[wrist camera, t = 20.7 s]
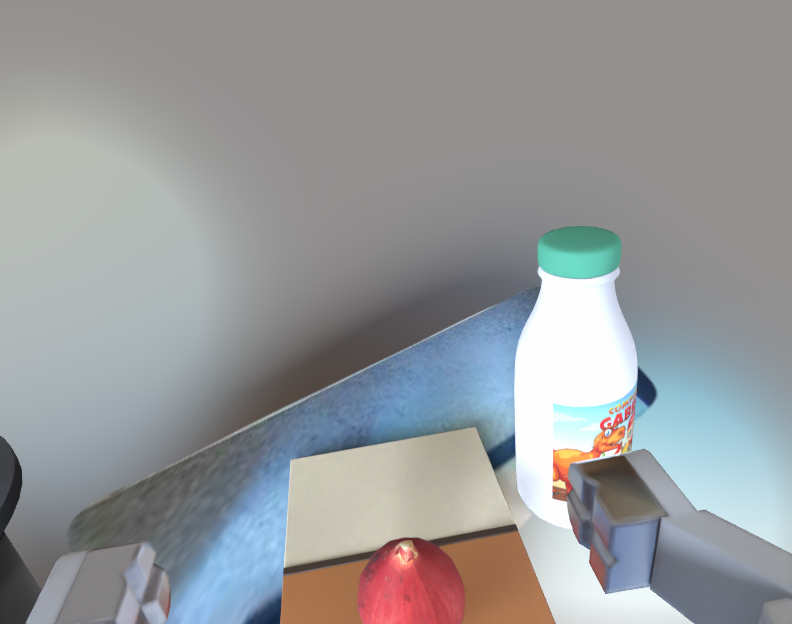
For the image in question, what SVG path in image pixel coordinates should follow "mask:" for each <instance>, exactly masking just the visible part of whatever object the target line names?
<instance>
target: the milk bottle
mask: <svg viewBox="0 0 792 624" xmlns="http://www.w3.org/2000/svg"><path fill="white" fill-rule="evenodd" d="M620 258H621V240H620V238H619V237H618V236H617V235H616V234H615V233H613V232H611V231H609V230H606V229H602V228H597V227H588V226H574V227H565V228H560V229H556V230H552V231H550V232H548V233H546V234H545V235H543V236H542V237H541V238H540V240H539V244H538V263H539V268H538V274H539V276H540V277H541V278H542V285H541V290H540V293H539V296H538V299H537V302H536V305H535V307H534V309H533V311H532V313H531V315H530V317H529V318H528V320H527V322H526V324H525V326H524V328H523V330H522V333H521V336H520V339H519V342H518V346H517V351H516V359H515V443H516V477H517V488H518V491H519V494H520V496H521V498H522V500H523V501H524V503H525V504H526V505H527V507H528V508H529V509H530V510H531V511H532V512H533V513H534V514H535V515H536V516H538V517H540V518H541V519H543V520H544V521H546V522H549V523H551V524H553V525H556V526H561V527H563V528H570V529H572V526H571V523H570V520H569V515H568V510H567V494H568V493H569V491H570V490H571V489H572V488H573V487H572V485H571V483H570V481H569V479H568V468H569V466H570V464H571V463H574V462H579V461H584V460H589V459H594V458H600V457H605V456H610V455H615V454H618V455H619V454H621V453H626V452H631V447H632V446H631V445H632V437H633V426H634V415H635V404H636V392H637V371H638V367H637V354H636V349H635V344H634V341H633V337H632V335H631V332H630V330H629V327H628V325H627V323H626V321H625V319H624V317H623V314H622V312H621V310H620V307H619V304H618V301H617V297H616V292H615V287H614V280H615V279H616V278H617V277H618V275H619V273H620V270H619V263H620Z"/></svg>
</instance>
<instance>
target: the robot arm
mask: <svg viewBox="0 0 792 624" xmlns="http://www.w3.org/2000/svg"><path fill="white" fill-rule="evenodd" d="M568 479H569V481H570V483H571V485H572V487H573V488H572V489H571V490H570V491H569V493H568V494H567V510H568V515H569V520H570V523H571V526H572V529H573V531H574V534H575V536H576V538H577V540H578V542H579V543H580V544H581V545H583V546H584V547H586V548H588V549H589V550H590V560H589V563H590V565H591V567H592V569H593V571H594V573H595V575H596V577H597V579H598V581H599V582H600V584H601V586H602V588H603V590H604V592H605V594H608V593H614V592H620V591H626V590H632V589H638V588H644V587H650V589H651V590H652V591H653V592H654V593H656V594H657V595H658V596H660V597H661V598H662V599H663V600H665V601H666V602H667V603H669V604H670V605H671V606H672V607H674V608H675V609H677V610H678V611H679V612H680V613H682V614H683V615H684V616H685V617H687V618H688V619H689V620H690V621H692V622H693V623H695V624H792V554H791V553H789V552H787V551H785V550H783V549H781V548H779V547H777V546H775V545H773V544H771V543H769V542H767V541H765V540H763V539H762V538H760V537H758V536H755V535H754V534H752V533H750V532H748V531H746V530H744V529H742V528H740V527H738V526H736V525H734V524H732V523H730V522H728V521H726V520H724V519H722V518H720V517H718V516H716V515H714V514H712V513H710V512H709V511H707V510H700V511H697V510H696V509H695V507H694V506H693V505H692V504H691V502H690V501H689V500H688V499H687V498H686V496H685V495H684V494H683V493H682V491H681V490H680V489H679V488H678V486H677V485H676V484H675V483H674V481H673V480H672V479H671V478H670V477H669V475H668V474H667V473H666V471H665V470H664V469H663V468H662V467H661V465H660V464H659V463H658V462H657V461H656V459H655V458H654V457H653V455H652V454H651V453H650V452H649V451H647V450H645V449H642V450H637V451H631V452H626V453H621V454H619V455H618V454H615V455H610V456H605V457H600V458H594V459H589V460H584V461H579V462H574V463H571V464H570V466H569V468H568ZM156 555H157V552H156V550H155V548H154V546H153V545H152V543H151V541H140V542H134V543H127V544H121V545H114V546H108V547H102V548H95V549H92V550H85V551H79V552H73V553H66V554H64V555H63V556H62V557H61V558H60V559H59V560H57V562H56V564H55V566H54V568H53V570H52V572H51V574H50V576H49V578H48V580H47V582H46V584H45V586H44V588H43V590H42V592H41V594H40V596H39V598H38V600H37V602H36V604H35V606H34V608H33V610H32V612H31V614H30V616H29V618H28V620H27V622H26V624H165V623H166V622H167V618H168V614H169V609H170V596H171V589H170V584H169V579H168V576H167V574H166V571H165V569H164V568H162V567H160V566H158V565H156V564H154V561H155V558H156Z"/></svg>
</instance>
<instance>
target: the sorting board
mask: <svg viewBox="0 0 792 624" xmlns="http://www.w3.org/2000/svg"><path fill="white" fill-rule="evenodd" d="M403 537H406V538H413V537H418V538H421V539H424V540H426V541H429V542H432V543H434V544H435V545H437V546H438V547H439V548H440V549H441V550H442V551H444V552H445V553H446V554H447V555H448V556H449V557H451V559H452V560H453V562H454V564H455V566H456V568H457V570H458V572H459V574H460V576H461V578H462V581H463V585H464V588H465V610H464V618H463V620H462V623H461V624H555V621H554V619H553V616H552V614H551V611H550V609H549V606H548V604H547V601H546V599H545V596H544V594H543V592H542V589H541V586H540V584H539V581H538V579H537V577H536V574H535V572H534V569H533V567H532V564H531V562H530V559H529V557H528V554H527V552H526V549H525V547H524V545H523V542H522V539H521V537H520V534H519V532H518V529H517V526H516V524H515V522H514V520H513V517H512V515H511V512H510V510H509V507H508V505H507V502H506V500H505V497H504V495H503V493H502V490H501V488H500V485H499V483H498V480H497V478H496V475H495V473H494V470H493V468H492V465H491V463H490V460H489V458H488V455H487V453H486V450H485V448H484V445H483V443H482V440H481V438H480V435H479V433H478V431H477V428H476V427H471V428H465V429H460V430H454V431H449V432H443V433H438V434H432V435H426V436H421V437H415V438H410V439H404V440H398V441H393V442H387V443H382V444H376V445H370V446H365V447H359V448H354V449H348V450H343V451H337V452H331V453H326V454H320V455H315V456H309V457H303V458H298V459H292V460H291V466H290V482H289V498H288V513H287V529H286V545H285V561H284V570H283V591H282V607H281V623H280V624H363V623H362V620H361V617H360V615H359V612H358V605H357V600H358V589H359V580H360V576H361V573H362V572H363V570H364V568H365V567H366V565H367V563H368V562H369V560H370V558H371V557H372V555H373V554H374V552H376V551H377V550H378V549H380V548H381V547H382V546H384V545H385V544H386V543H388V542H389V541H391V540H395V539H399V538H403Z"/></svg>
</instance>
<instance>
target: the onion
mask: <svg viewBox="0 0 792 624" xmlns="http://www.w3.org/2000/svg"><path fill="white" fill-rule="evenodd" d="M357 605H358V612H359V615H360V617H361V620H362V623H363V624H461V623H462V620H463V618H464V610H465V588H464V585H463V581H462V578H461V576H460V574H459V572H458V570H457V568H456V566H455V564H454V562H453V560H452V559H451V557H449V556H448V555H447V554H446V553H445V552H444V551H442V550H441V549H440V548H439V547H438V546H437V545H435V544H434V543H432V542H429V541H426V540H424V539H421V538H418V537H413V538H406V537H403V538H399V539H395V540H391V541H389V542H388V543H386V544H385V545H384V546H382V547H381V548H380V549H378V550H377V551H376V552H374V554H373V555H372V557H371V558H370V560H369V562H368V563H367V565H366V567H365V568H364V570H363V572H362V573H361V576H360V580H359V589H358V600H357Z"/></svg>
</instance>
